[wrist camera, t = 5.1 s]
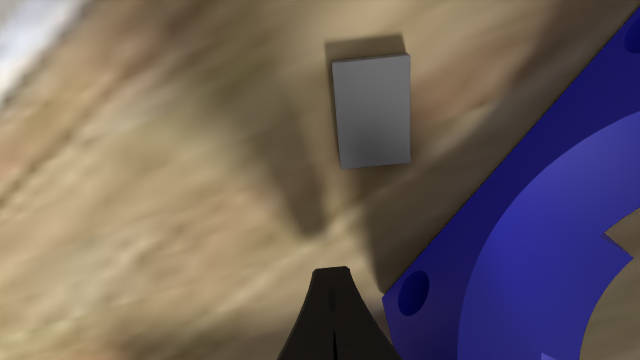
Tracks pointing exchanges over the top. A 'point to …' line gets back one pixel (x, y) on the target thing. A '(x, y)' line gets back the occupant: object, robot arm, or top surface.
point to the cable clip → (534, 230)
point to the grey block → (372, 110)
